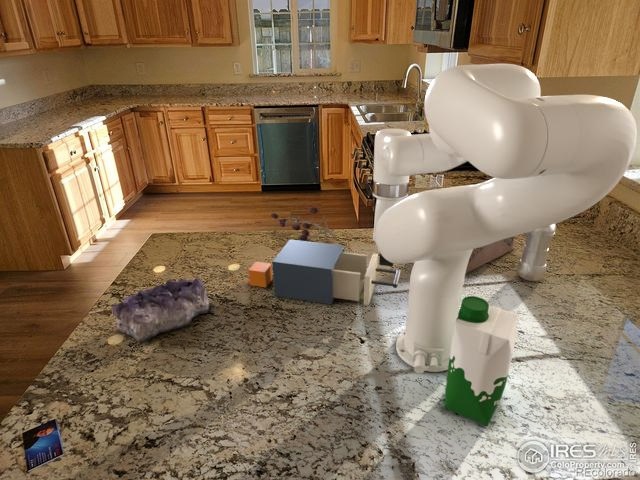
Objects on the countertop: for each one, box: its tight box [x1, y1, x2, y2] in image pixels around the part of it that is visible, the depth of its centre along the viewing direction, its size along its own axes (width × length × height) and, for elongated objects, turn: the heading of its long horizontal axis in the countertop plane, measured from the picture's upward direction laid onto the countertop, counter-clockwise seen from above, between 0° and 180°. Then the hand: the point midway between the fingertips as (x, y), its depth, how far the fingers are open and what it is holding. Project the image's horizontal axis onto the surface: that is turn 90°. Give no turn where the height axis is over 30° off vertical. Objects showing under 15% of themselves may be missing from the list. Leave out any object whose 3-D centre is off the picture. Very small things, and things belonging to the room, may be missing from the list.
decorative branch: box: [270, 206, 338, 243], centre depth 136 cm, size 11×9×30 cm
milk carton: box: [444, 295, 519, 427], centre depth 69 cm, size 9×9×20 cm
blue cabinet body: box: [271, 239, 345, 306], centre depth 106 cm, size 15×13×10 cm
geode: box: [111, 277, 211, 343], centre depth 94 cm, size 20×12×10 cm, turn 130°
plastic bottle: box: [516, 223, 557, 282], centre depth 106 cm, size 6×7×20 cm
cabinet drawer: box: [333, 251, 402, 306], centre depth 103 cm, size 20×11×8 cm, turn 74°
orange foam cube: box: [248, 261, 273, 288], centre depth 109 cm, size 4×4×4 cm
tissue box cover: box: [465, 236, 516, 275], centre depth 121 cm, size 26×14×10 cm, turn 127°
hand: (386, 264), depth 99 cm, fingers closed
